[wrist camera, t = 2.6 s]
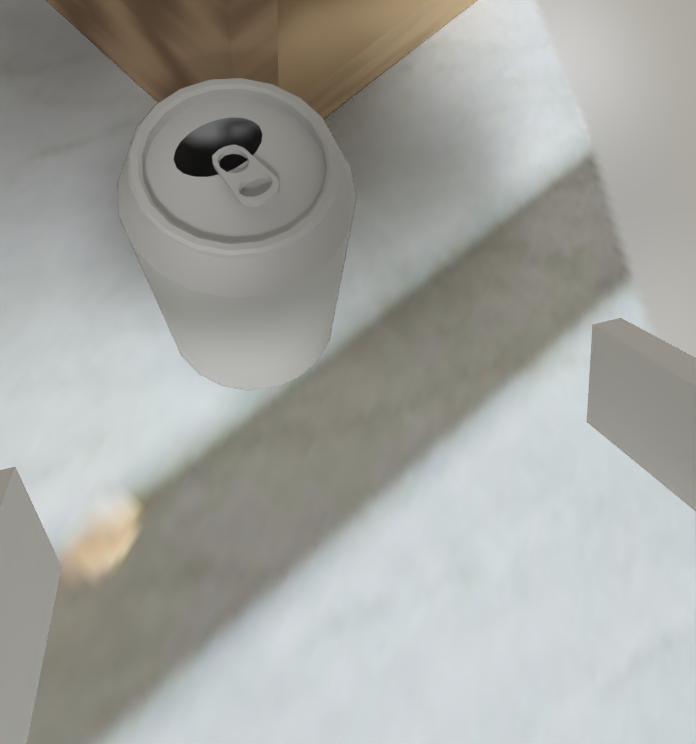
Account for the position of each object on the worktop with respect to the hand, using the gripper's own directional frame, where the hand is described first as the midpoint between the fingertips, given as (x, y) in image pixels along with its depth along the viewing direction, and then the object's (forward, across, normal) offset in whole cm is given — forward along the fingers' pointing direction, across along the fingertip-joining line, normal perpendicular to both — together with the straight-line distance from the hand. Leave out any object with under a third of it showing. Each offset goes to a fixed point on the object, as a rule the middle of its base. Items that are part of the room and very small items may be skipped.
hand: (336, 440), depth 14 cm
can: (+16, 0, -3) cm, 17 cm away
